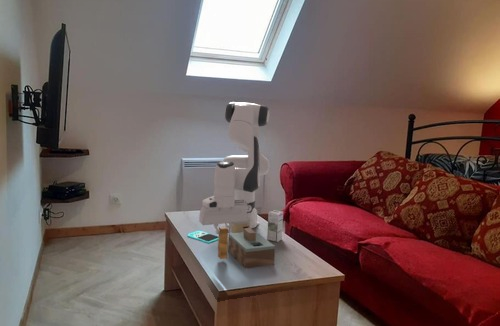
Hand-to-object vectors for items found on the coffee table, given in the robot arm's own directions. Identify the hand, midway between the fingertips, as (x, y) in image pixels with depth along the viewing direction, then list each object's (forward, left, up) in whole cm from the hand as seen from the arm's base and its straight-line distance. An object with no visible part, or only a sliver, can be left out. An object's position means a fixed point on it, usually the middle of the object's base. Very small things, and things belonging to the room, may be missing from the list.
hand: (223, 233), depth 171 cm
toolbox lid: (0, +13, -5) cm, 14 cm away
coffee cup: (-22, +17, -14) cm, 31 cm away
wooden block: (0, 0, -11) cm, 11 cm away
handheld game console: (-34, +3, -14) cm, 37 cm away
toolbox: (0, +13, -13) cm, 19 cm away
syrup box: (-20, +35, -14) cm, 43 cm away
